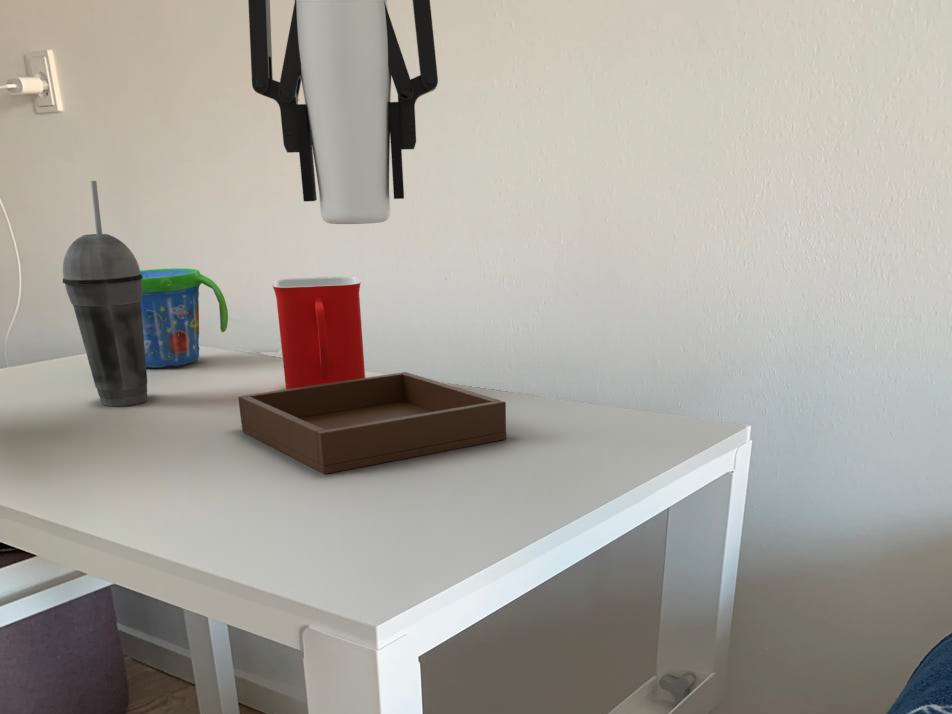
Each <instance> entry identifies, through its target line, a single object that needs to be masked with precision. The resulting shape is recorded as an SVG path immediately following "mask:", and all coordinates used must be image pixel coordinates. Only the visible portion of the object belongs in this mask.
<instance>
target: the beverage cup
mask: <svg viewBox="0 0 952 714" xmlns="http://www.w3.org/2000/svg"><path fill="white" fill-rule="evenodd" d="M97 183H98V182H97V181H96V180H90V187H91V197H92V206H93V214H94V215H93V216H94V223H95V233H91V234H84V235H81V236H80V237H77V238H76V239H75V240H74V241H72V243H71V244H70V245H69V247H68V248H67V250H66V252H65V255H64V258H63V263H62V277H63V278H62V283H63V284H64V286H65V290H66V294H67V297H68V299H69V301H70V304H71V305H72V306H73V310H74V313H75V317H76V321H77V325H78V327H79V328H78V329H79V332H80V335H81V340H82V343H83V346H84V350H85V354H86V357H87V360H88V364H89V369H90V371H91V375H92V379H93V383H94V385H95V389H96V392H97V394H98V397H99V401H100V404H101V405H103V406H106V407H107V406H108V407H124V406H133V405H138V404H142V403H145V402H147V401H148V400H149V397H148V372H147V367H146V358H145V346H144V333H143V320H142V308H141V300H142V280H141V279H143V276H142V274H141V273H140V270H141V269H140V265H139V263H138V260H137V259H136V257H135V254H134V253H133V252H132V250H131V249H130V248H129V247H128V246H127V244H125V242H123V241H121V240H120V239H118V238H117V237H115V236H113V235H111V234H108V233H103V230H102V229H103V228H102V220H101V210H100V201H99V191H98V184H97Z"/></svg>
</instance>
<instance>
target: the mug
mask: <svg viewBox="0 0 952 714" xmlns="http://www.w3.org/2000/svg"><path fill="white" fill-rule="evenodd" d="M272 288H273V291H274V295H275V298H276V308H277V316H278V317H277V319H278V325H279V328H278V329H279V337H280V345H281V356H282V365H283V373H284V383H285V389H291V388H298V387H305V386H312V385H319V384H326V383H333V382H340V381H347V380H354V379H360V378H366V370H365V368H366V367H365V355H364V343H363V342H364V341H363V329H362V315H361V300H360V291H361V281H360V278H359V277H358V276H355V275H341V276H340V275H337V276H334V275H333V276H332V275H331V276H310V277H288V278H278V279H274V280H273V282H272Z"/></svg>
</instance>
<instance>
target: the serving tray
mask: <svg viewBox="0 0 952 714" xmlns="http://www.w3.org/2000/svg"><path fill="white" fill-rule="evenodd" d="M237 400H238V407H239V409H238V410H239V416H240V424H241V431H242V432H243V433H244V434H246V435H248V436H250V437H252V438H254V439H256V440H258V441H260V442H261V443H264V444H265V445H267V446H269V447H271V448H273V449H275V450H277V451H279V452H281V453H283V454H285V455H287V456H289V457H291V458H293V459H294V460H296V461H298V462H301V463H302V464H304V465H306V466H308V467H309V468H312V469H313V470H316V471H317V472H320V473H321V474H323V475H326V474H327V475H328V474H334V473H338V472H343V471H349V470H353V469H359V468H363V467H368V466H374V465H380V464H385V463H390V462H395V461H400V460H405V459H410V458H416V457H420V456H425V455H431V454H437V453H442V452H447V451H452V450H456V449H463V448H467V447H473V446H477V445H478V446H479V445H484V444H489V443H493V442H498V441H504V440H507V403H506V401H503V400H500V399H497V398H494V397H491V396H487V395H484V394H481V393H477V392H475V391H471V390H468V389H464V388H460V387H457V386H455V385H454V386H453V385H451V384H448V383H444V382H440V381H437V380H434V379H432V378H431V379H430V378H428V377H424V376H421V375H420V376H419V375H417V374H415V373H411V372H407V371H403V372H396V373H389V374H381V375H375V376H367V377H365V378H360V379H354V380H347V381H340V382H333V383H326V384H319V385H312V386H305V387H298V388H291V389H286V388H285V389H278V390H271V391H264V392H257V393H250V394H244V395H243V394H242V395H238V396H237Z"/></svg>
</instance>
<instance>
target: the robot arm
mask: <svg viewBox="0 0 952 714" xmlns="http://www.w3.org/2000/svg"><path fill="white" fill-rule="evenodd" d="M247 2H248V5H247V6H248V24H249V46H250V69H251V71H250V73H251V86H252V89H253V90H254V92H256V93H257V94H259V95H261V96H264V97H266V98H269V99H272V100H274V101H275V102H276V103H277V104H278V106H279V111H280V112H279V113H280V121H281V130H282V133H281V134H282V141H283V146H284V149H285V151H286V153H290V154H291V153H292V154H293V153H298V154H299V156H298V157H299V166H300V176H301V177H300V178H301V186H302V188H301V189H302V200H303V202H304V203H305V202H316V201H317V188H316V186H317V185H316V177H315V176H316V175H315V174H316V173H315V162H314V155H313V148H312V142H311V136H310V129H309V123H308V117H307V110H306V104H305V103H299V96H300V90H301V86H302V80H301V73H300V68H301V61H300V52H299V42H298V29H297V8H296V0H295V1H294V3H293V10H292V13H291V20H290V25H289V31H288V36H287V42H286V47H285V52H284V58H283V62H282V68H281V73H280V74H281V75H280V78H279V81H277V80H275V79H274V77H273V74H274V73H273V51H272V25H271V23H272V22H271V21H272V19H271V0H247ZM384 4H385V2H384ZM431 6H432V5H431V0H412V10H413V18H414V28H415V37H416V47H417V55H418V65H419V75H417V76H415V77H413V78H411V77H410V73H409V71H408V68H407V65H406V62H405V59H404V56H403V53H402V50H401V47H400V44H399V41H398V38H397V35H396V32H395V29H394V26H393V23H392V20H391V17H390V13H389V14H388V12H389V10H388V11H387V8H386V5H385V14H386V26H387V42H388V66H389V69H390V72H391V80H392V81H393V84H394V88H395V90H396V93H397V101H391V102H388V104H389V122H390V154H391V157H390V158H391V172H392V173H391V175H392V188H393V191H392V192H393V199H394V200H404V199H405V189H404V186H405V185H404V171H403V151H402V150H405V151H406V150H415V148H416V144H417V128H416V108H415V107H416V103H417V100H418V99H419V98H420V97H422V96H424V95H426V94H428V93H432V92H434V91H435V90H436V89H437V87H438V85H439V77H438V76H439V75H438V66H437V58H436V57H437V56H436V47H435V37H434V27H433V18H432V17H433V16H432V7H431Z"/></svg>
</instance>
